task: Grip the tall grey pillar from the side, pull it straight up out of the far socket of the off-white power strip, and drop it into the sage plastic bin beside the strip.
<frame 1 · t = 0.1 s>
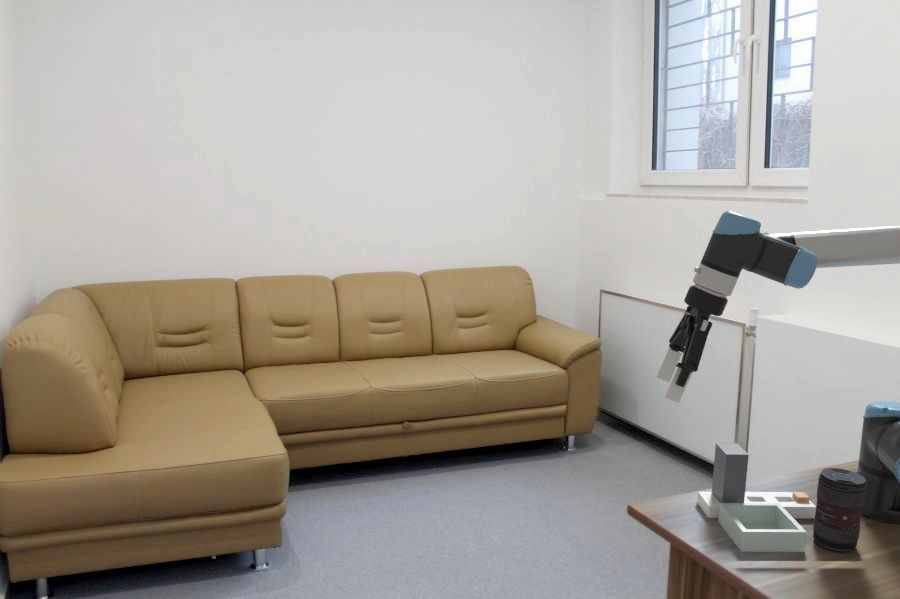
hand: (667, 389, 156), 28 cm above the table, tool tilted 20°, fingers open, 13 cm apart
strip: (754, 514, 164), on the table
bin: (759, 540, 153), on the table
tall grey pillar: (726, 510, 164), point 1 cm above the table, touching strip
camera lens: (834, 549, 151), on the table
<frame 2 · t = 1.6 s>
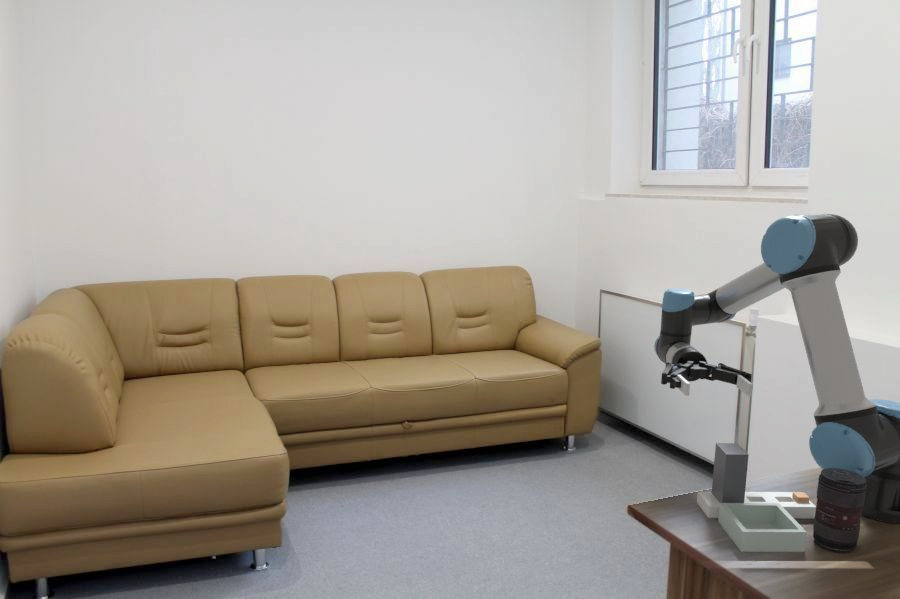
hand: (719, 390, 168), 24 cm above the table, tool horizontal, fingers open, 13 cm apart
nothing on the table moved.
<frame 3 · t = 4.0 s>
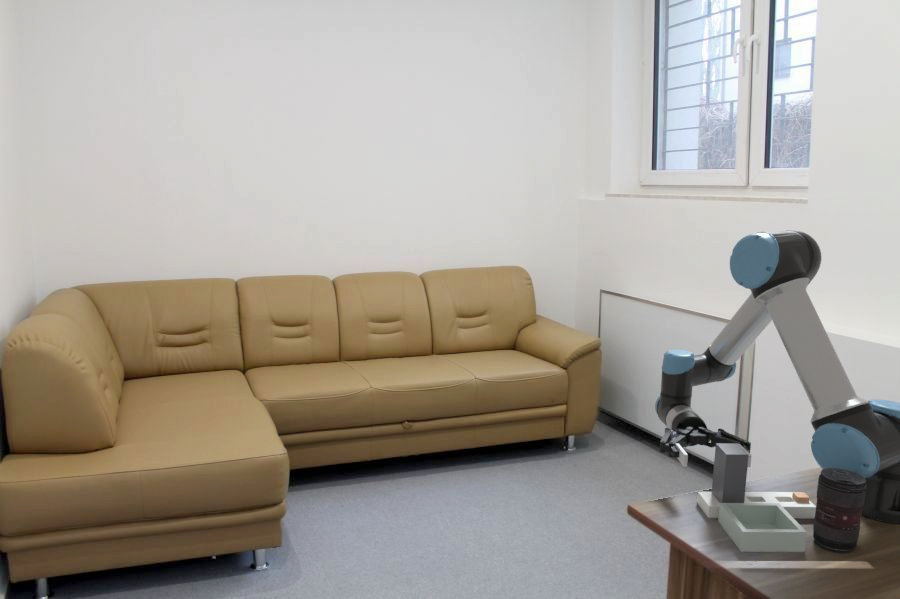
hand: (717, 461, 168), 9 cm above the table, tool horizontal, fingers open, 13 cm apart
nothing on the table moved.
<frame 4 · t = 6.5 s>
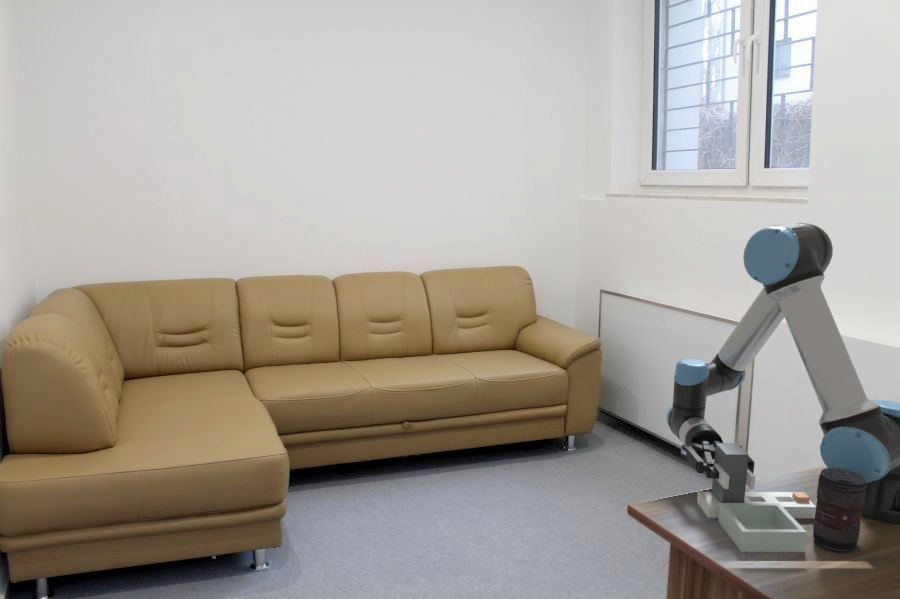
hand: (739, 482, 157), 10 cm above the table, tool horizontal, fingers closed on tall grey pillar, 4 cm apart
tall grey pillar: (726, 510, 164), point 1 cm above the table, touching gripper, strip
everything else where it was.
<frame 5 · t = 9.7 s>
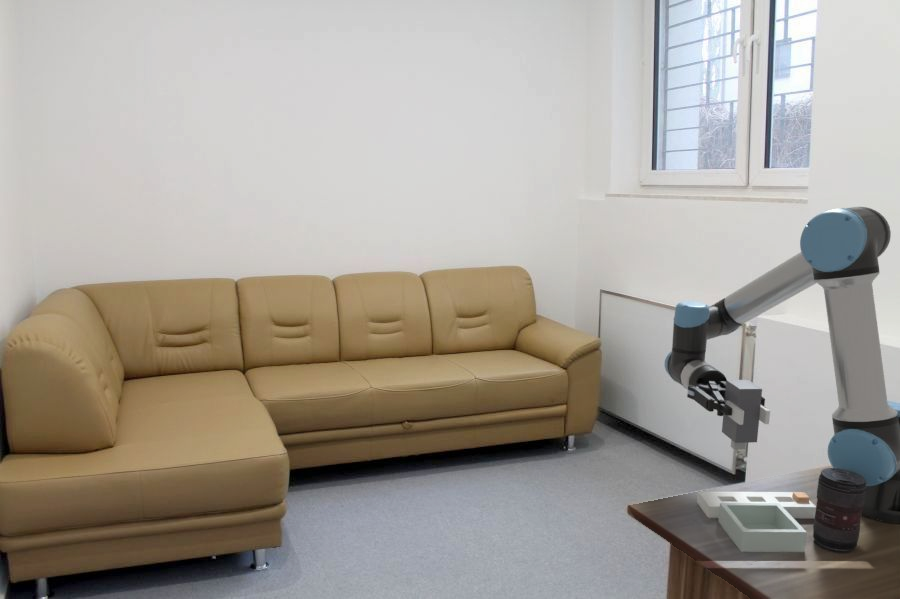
hand: (754, 417, 152), 24 cm above the table, tool horizontal, fingers closed on tall grey pillar, 4 cm apart
tall grey pillar: (737, 448, 159), point 15 cm above the table, touching gripper
everything else where it was.
when the fingers open (11 cm above the table, at t = 12.8 s): tall grey pillar drops 2 cm, resting on bin.
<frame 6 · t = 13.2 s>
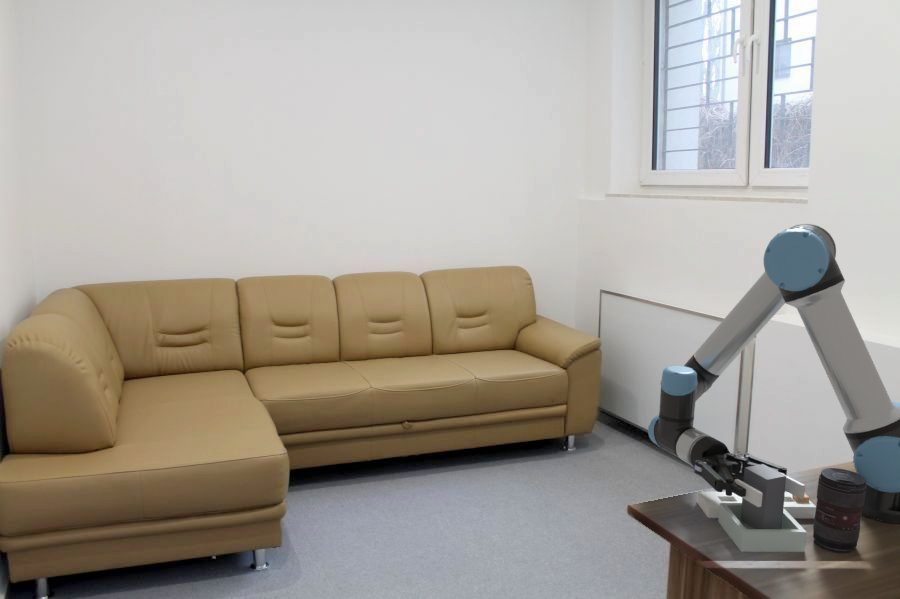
hand: (781, 496, 147), 11 cm above the table, tool horizontal, fingers open, 9 cm apart
tall grey pillar: (760, 536, 153), point 1 cm above the table, touching bin
everything else where it was.
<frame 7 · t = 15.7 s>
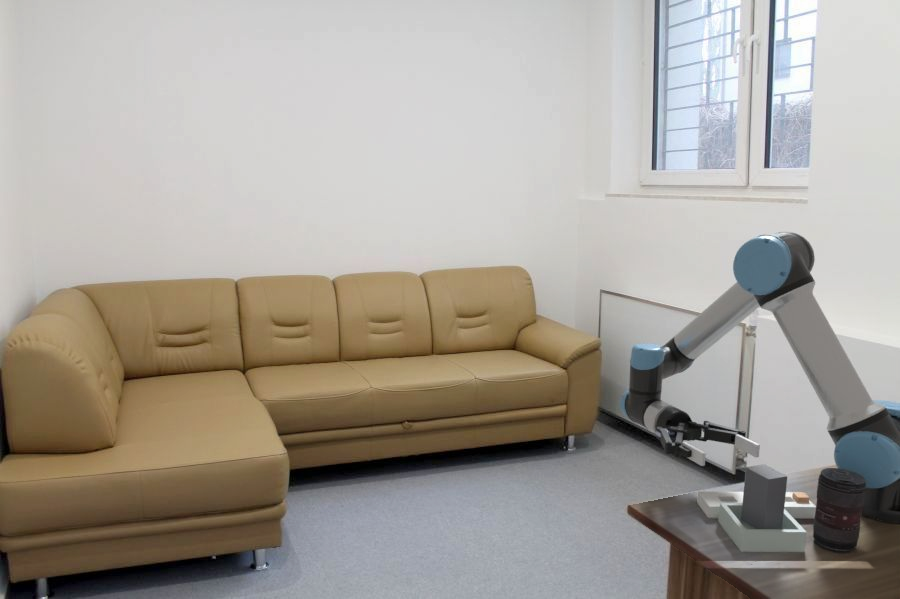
hand: (731, 455, 161), 13 cm above the table, tool horizontal, fingers open, 13 cm apart
nothing on the table moved.
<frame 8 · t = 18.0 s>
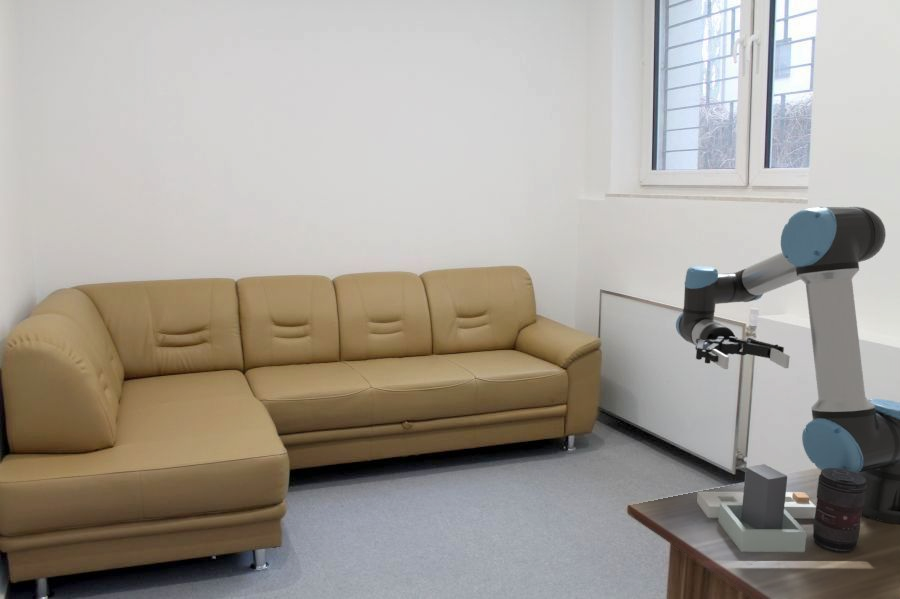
hand: (757, 362, 168), 30 cm above the table, tool horizontal, fingers open, 13 cm apart
nothing on the table moved.
at the end: tall grey pillar inside the target area on the bin (0.1 cm from its centre), point 0.8 cm above the bin's base; tall grey pillar touching bin; the gripper is holding nothing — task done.
